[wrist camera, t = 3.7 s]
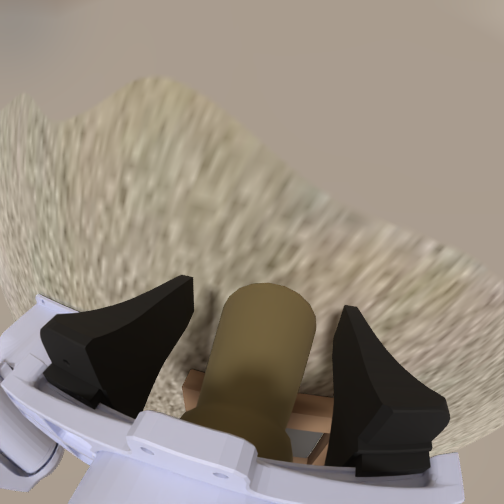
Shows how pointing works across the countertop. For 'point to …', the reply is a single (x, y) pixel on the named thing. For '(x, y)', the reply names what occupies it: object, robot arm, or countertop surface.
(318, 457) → the holder
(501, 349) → the countertop surface
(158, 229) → the countertop surface
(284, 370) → the cork
